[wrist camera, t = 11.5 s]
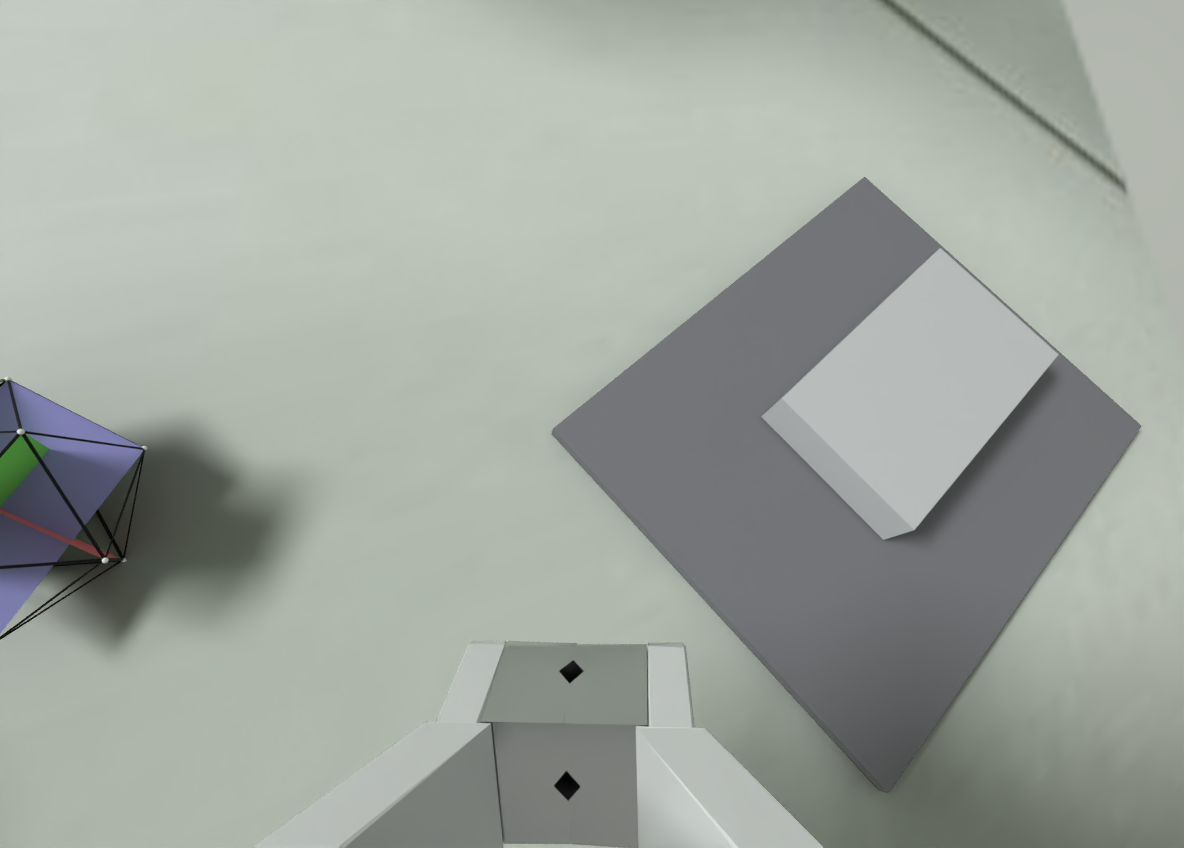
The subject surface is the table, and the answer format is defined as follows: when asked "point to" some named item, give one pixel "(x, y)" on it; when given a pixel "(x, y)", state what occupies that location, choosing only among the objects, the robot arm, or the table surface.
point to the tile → (911, 395)
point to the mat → (816, 512)
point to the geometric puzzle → (51, 491)
